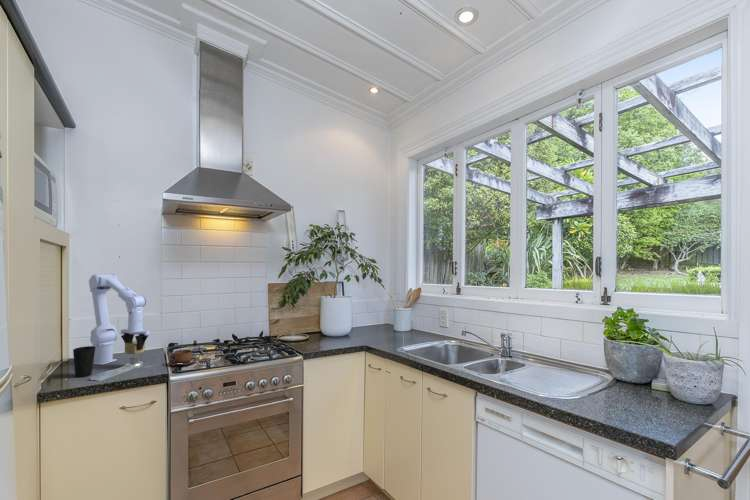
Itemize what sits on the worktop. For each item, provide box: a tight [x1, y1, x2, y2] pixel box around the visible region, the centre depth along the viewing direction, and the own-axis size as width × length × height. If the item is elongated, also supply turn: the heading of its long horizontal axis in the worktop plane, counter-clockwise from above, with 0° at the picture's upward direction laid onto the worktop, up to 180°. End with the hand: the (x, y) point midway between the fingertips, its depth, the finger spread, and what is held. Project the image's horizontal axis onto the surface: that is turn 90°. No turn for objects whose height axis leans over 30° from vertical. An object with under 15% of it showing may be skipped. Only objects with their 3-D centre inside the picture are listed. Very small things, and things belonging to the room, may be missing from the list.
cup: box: [72, 345, 96, 379], centre depth 152 cm, size 8×8×12 cm
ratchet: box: [90, 355, 144, 382], centre depth 157 cm, size 7×22×5 cm, turn 169°
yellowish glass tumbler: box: [124, 340, 146, 355], centre depth 165 cm, size 6×6×5 cm
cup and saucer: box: [168, 349, 197, 367], centre depth 170 cm, size 12×12×6 cm
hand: (134, 349), depth 165 cm, fingers closed on yellowish glass tumbler, 6 cm apart
